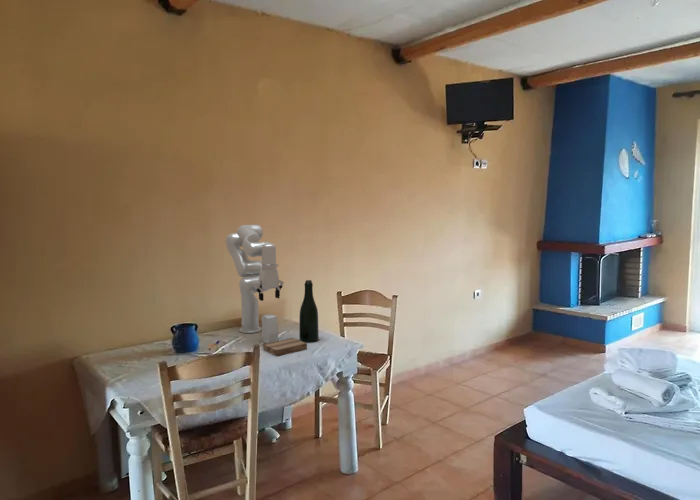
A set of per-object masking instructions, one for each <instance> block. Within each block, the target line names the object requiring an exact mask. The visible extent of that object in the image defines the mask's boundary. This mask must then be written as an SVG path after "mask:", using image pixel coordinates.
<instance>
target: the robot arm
mask: <svg viewBox="0 0 700 500" xmlns="http://www.w3.org/2000/svg"><path fill="white" fill-rule="evenodd" d="M263 235H264V230H263V228H262V226H261V225H259V224H243V225H239V227H237V229H236V232H233V233H229V234H227V236H226V237H225V238H226V239H225V245H226V249H227V251H228V253H229V254H230V256H231V258H232V260H233V262H234V265H235V270H236V272H237V275H238V276H239V277H240V278H241V279H240V280H239V282H238V285H239V291H240V298H241V299H240V301H241V302H240V303H241V322H240V324H241V327H239V329H238V330H239V331H238V332H240V333H242V334H256V333H260V332H262V326H259V323H260V321H259V318H260V317H259V316H260V315H259V301H261V302H263V301H265V299H264V292H267V291H269V290H271V289H275V290H274V291H275V292H274V293H275V294H274V296H275V299H280V296H281V294H280V293H281V292H280V291H281V290H282V288H283V286H284V283H285V282H284V281H283V280H281V279H280V278H279V271H278V269H277V268H278V267H279V264H278V263H277V248H276V247H277V246H276V244H275V243H272V242H270V241H261V240H262V238H263ZM249 257H250V258H256V257H261V260H259V259H257V260H256V259H255V260H254V259H253V260H250V259H249ZM255 293H258V298H257V296H256V295H255Z"/></svg>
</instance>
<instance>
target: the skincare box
mask: <svg viewBox="0 0 700 500" xmlns="http://www.w3.org/2000/svg"><path fill="white" fill-rule="evenodd" d="M278 326H279V325H278V316H277V315H274V314H272V313H267V314H263V315H261V332H262V334H261V335H262V342H263V344H266V343H271V342H276V341H279V334H278V333H279V330H278V329H279V328H278Z"/></svg>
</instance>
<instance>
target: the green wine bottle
mask: <svg viewBox="0 0 700 500" xmlns="http://www.w3.org/2000/svg"><path fill="white" fill-rule="evenodd" d="M303 286H304V295H303V301H302V302H301V305H300V308H299V320H298V321H299V323H298V325H299V326H298V327H299V331H298V332H299V333H298V334H299V335H298V336H299V337H298V338H299V339H298V340H300V341H302V342H305V343H313V342H316V341H318V340H319V338H320V337H319V334H320V333H319V331H320V330H319V312H318V307H317V304H316V302H315V298H314V293H313V291H314V290H313V288H314V287H313V286H314V284H313V282H312V280H311V279H306V280H305V282H304V285H303Z"/></svg>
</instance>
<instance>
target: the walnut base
mask: <svg viewBox="0 0 700 500" xmlns="http://www.w3.org/2000/svg"><path fill="white" fill-rule="evenodd" d="M262 348H263V351H265V352H267V353H269V354H270V355H271V354H272V355H273V356H275V357H280V356H284V355H288V354H292V353H297V352H302V351H305V350H307V349H308V342H303V341H300V339H297V338H295V337H291V338H290V337H289V338H285V339H280V340H278V341H276V342H271V343H263V346H262Z"/></svg>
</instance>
